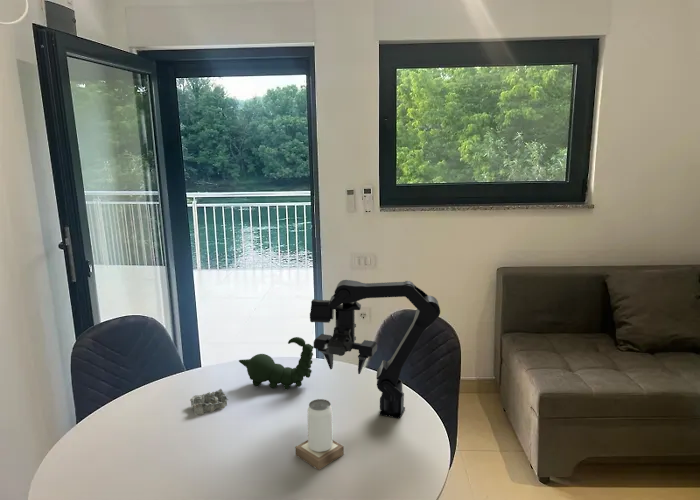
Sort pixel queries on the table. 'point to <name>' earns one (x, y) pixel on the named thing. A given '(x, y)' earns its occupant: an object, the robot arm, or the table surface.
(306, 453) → the block
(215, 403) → the egg carton
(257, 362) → the toy figurine
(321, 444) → the can
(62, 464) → the table surface
